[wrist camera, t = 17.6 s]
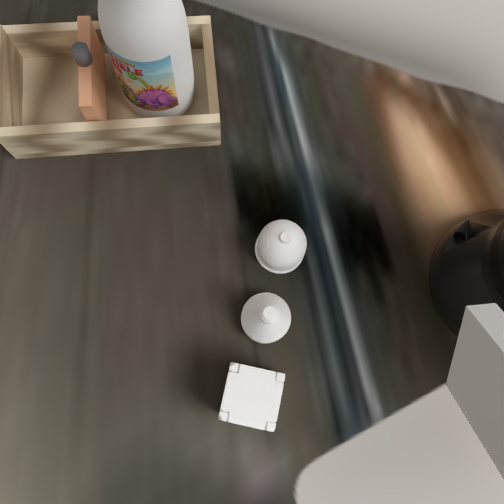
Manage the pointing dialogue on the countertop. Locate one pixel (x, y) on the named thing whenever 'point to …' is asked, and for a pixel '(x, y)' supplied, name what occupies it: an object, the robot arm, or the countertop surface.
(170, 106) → the milk bottle
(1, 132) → the wooden box
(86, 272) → the countertop surface
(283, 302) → the container set
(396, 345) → the countertop surface
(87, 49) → the pusher
